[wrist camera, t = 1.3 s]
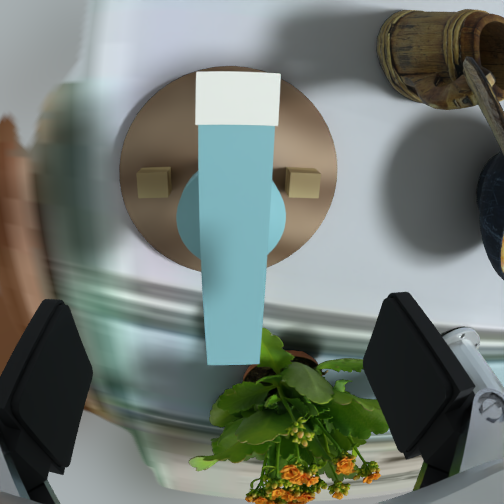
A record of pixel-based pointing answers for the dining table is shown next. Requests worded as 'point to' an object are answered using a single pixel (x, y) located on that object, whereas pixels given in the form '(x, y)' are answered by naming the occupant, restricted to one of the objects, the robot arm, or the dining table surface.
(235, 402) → the potted flower
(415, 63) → the wooden mug
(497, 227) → the bowl
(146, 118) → the base plate
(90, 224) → the dining table surface
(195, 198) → the white-capped blue bar
